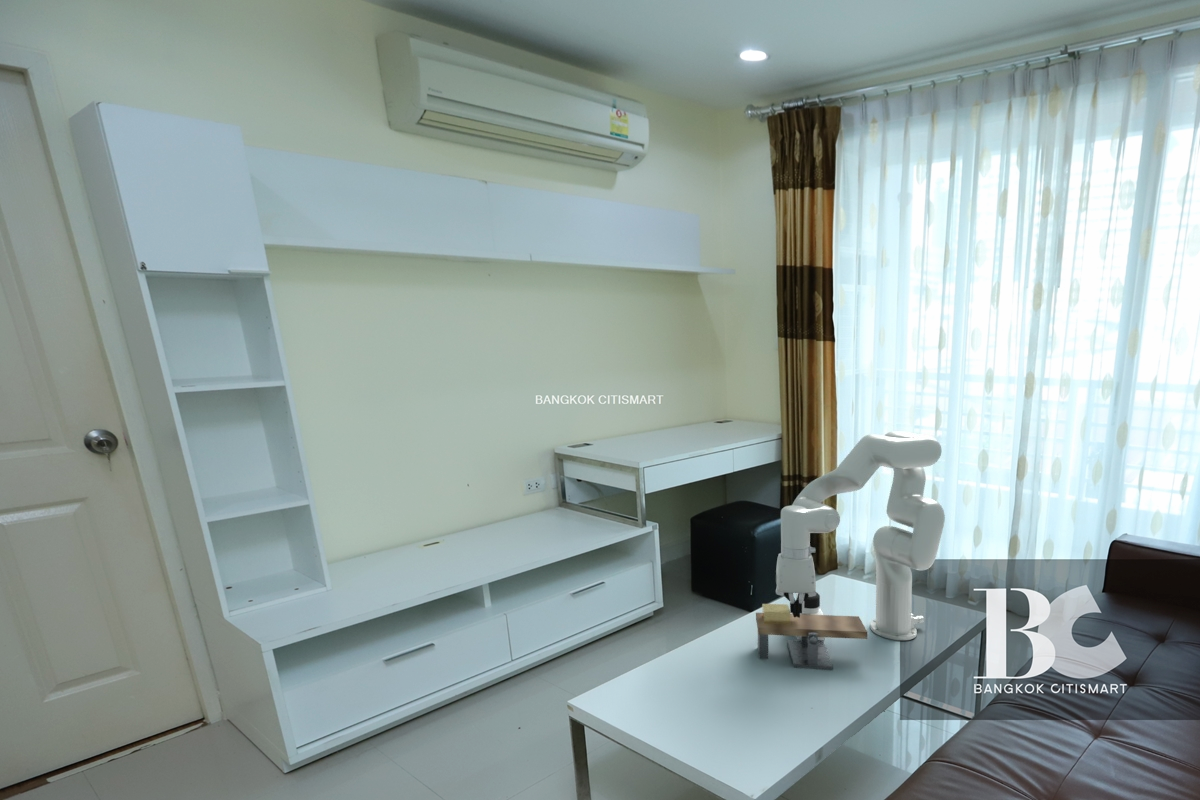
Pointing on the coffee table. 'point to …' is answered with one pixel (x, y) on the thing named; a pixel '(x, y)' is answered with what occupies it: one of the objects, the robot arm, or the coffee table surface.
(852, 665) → the coffee table surface
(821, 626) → the beam
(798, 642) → the stand
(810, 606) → the container
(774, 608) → the slider
